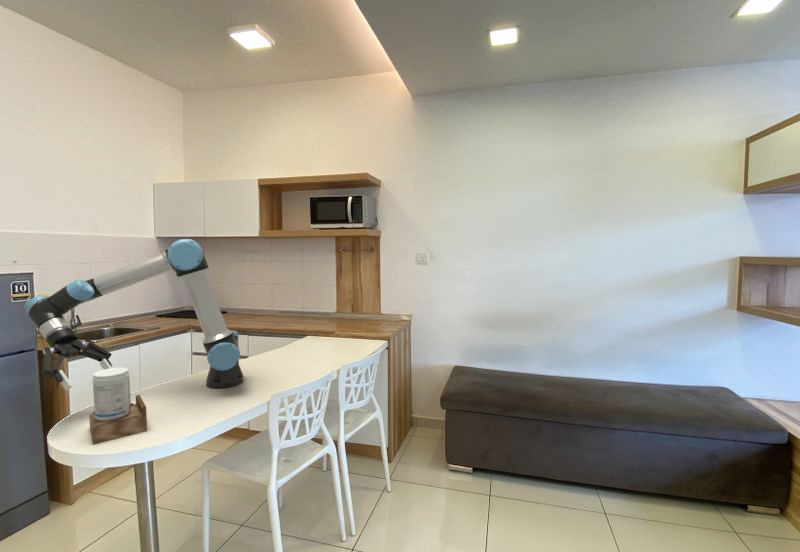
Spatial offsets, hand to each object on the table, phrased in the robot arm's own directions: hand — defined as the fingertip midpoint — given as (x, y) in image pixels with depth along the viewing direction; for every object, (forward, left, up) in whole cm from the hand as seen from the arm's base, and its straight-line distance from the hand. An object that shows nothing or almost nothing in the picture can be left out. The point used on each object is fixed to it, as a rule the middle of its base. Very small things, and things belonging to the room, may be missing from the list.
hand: (92, 381), depth 132 cm
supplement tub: (-5, +10, -10) cm, 15 cm away
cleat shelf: (-6, +10, -15) cm, 19 cm away
